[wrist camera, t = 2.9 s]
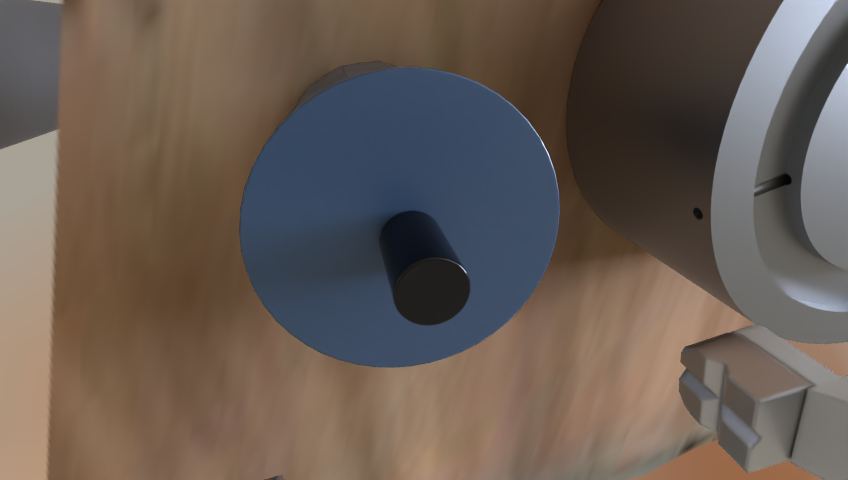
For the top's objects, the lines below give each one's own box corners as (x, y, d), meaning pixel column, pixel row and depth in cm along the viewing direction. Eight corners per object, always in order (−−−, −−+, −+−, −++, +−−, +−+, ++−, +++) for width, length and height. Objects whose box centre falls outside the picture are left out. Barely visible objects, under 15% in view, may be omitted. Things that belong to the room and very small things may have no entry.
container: (536, -42, 27) (705, -105, 15) (906, -175, 28) (1341, -333, 16) (591, 289, 38) (713, 404, 26) (854, 185, 39) (1085, 250, 27)
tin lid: (290, 377, 20) (279, 480, 15) (197, 93, 15) (137, 120, 10) (547, 318, 21) (608, 396, 17) (546, 43, 16) (636, 45, 12)
